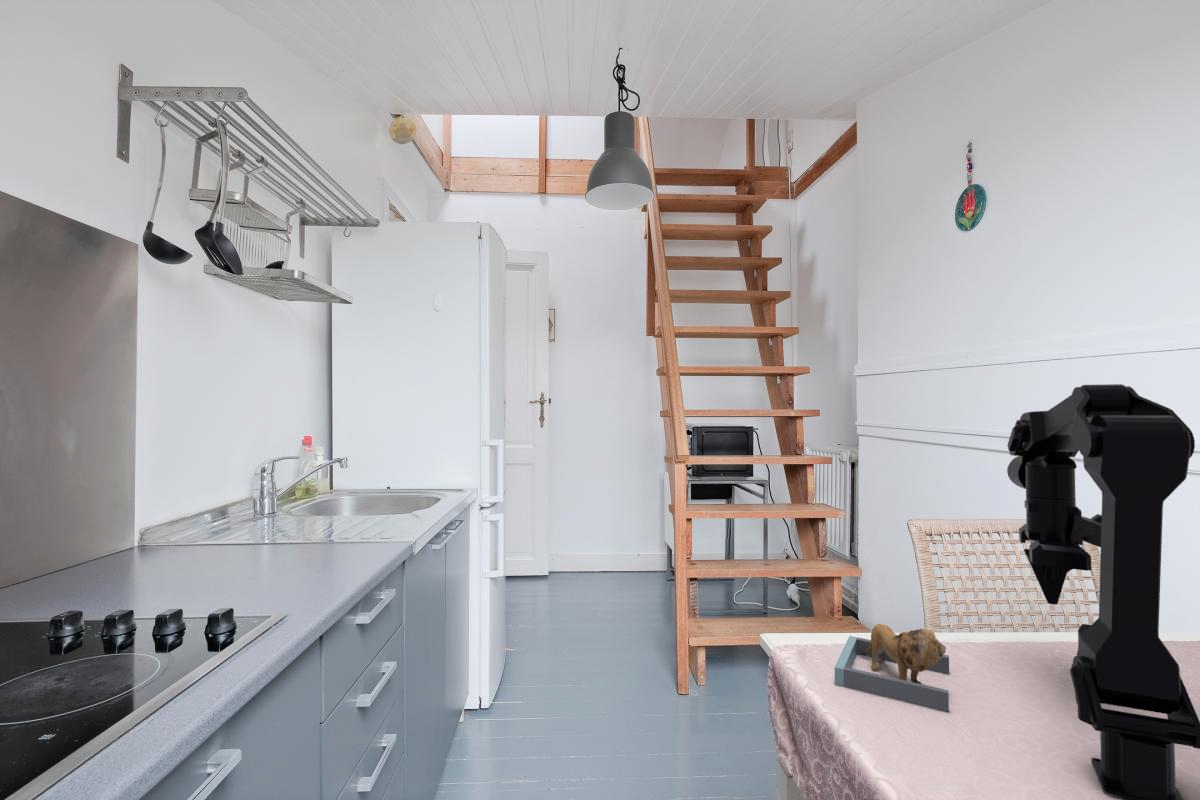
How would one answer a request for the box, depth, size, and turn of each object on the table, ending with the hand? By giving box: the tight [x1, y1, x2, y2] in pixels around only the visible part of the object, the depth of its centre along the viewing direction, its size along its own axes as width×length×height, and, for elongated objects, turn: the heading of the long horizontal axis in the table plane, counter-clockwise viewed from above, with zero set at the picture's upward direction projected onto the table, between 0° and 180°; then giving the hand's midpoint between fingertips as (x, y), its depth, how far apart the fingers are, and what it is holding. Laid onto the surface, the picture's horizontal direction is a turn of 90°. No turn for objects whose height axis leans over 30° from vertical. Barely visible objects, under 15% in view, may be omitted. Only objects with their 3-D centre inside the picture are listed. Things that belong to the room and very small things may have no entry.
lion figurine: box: [859, 623, 947, 684], centre depth 84 cm, size 15×5×9 cm, turn 18°
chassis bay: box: [834, 635, 950, 713], centre depth 84 cm, size 14×14×2 cm
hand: (1052, 603), depth 82 cm, fingers closed
